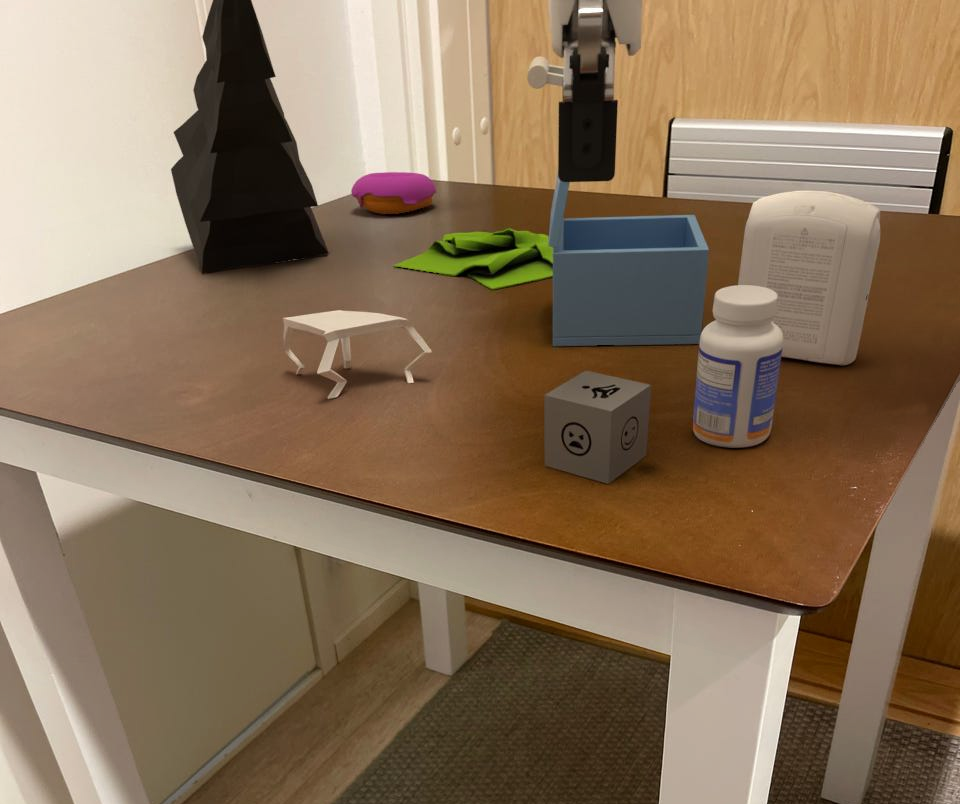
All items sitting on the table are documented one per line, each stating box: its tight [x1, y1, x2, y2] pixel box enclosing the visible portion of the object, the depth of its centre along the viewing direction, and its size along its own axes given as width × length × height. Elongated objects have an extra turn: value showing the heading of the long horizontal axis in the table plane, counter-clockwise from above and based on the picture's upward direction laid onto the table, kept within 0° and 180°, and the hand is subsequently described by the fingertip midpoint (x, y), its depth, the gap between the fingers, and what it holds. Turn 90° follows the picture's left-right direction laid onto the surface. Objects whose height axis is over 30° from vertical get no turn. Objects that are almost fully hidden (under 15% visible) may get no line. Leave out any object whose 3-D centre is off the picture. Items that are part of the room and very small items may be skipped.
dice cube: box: [543, 370, 652, 485], centre depth 64 cm, size 5×5×5 cm
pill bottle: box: [692, 284, 783, 449], centre depth 65 cm, size 5×5×10 cm
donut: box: [350, 171, 437, 215], centre depth 127 cm, size 10×10×5 cm
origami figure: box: [282, 309, 433, 400], centre depth 78 cm, size 12×8×5 cm
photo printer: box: [737, 190, 882, 367], centre depth 76 cm, size 10×4×12 cm, turn 60°
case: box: [552, 214, 710, 347], centre depth 86 cm, size 13×12×8 cm
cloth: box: [392, 227, 553, 291], centre depth 106 cm, size 20×22×2 cm
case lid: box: [526, 55, 571, 248], centre depth 80 cm, size 13×12×5 cm
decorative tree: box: [170, 0, 330, 275], centre depth 99 cm, size 15×15×35 cm
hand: (586, 163), depth 59 cm, fingers open, 9 cm apart
